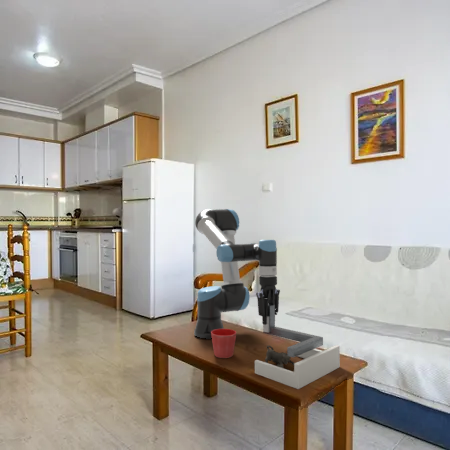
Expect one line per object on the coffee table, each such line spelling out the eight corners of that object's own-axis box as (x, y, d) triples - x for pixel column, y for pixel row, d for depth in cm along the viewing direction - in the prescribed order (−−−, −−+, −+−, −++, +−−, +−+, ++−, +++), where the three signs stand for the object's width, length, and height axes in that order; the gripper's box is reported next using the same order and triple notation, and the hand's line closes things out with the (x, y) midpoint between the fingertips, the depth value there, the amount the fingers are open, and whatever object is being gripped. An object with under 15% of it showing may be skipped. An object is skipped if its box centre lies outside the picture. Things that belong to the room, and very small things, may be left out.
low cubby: (254, 373, 136) (254, 351, 136) (297, 354, 155) (297, 335, 155) (298, 389, 122) (298, 364, 122) (339, 367, 141) (339, 345, 141)
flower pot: (239, 351, 159) (239, 329, 160) (233, 360, 149) (232, 336, 149) (215, 349, 162) (215, 327, 162) (207, 358, 152) (207, 334, 152)
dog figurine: (262, 365, 143) (262, 346, 144) (271, 361, 148) (271, 343, 148) (288, 373, 135) (288, 353, 135) (297, 369, 139) (297, 349, 140)
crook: (236, 341, 148) (236, 311, 148) (267, 331, 161) (267, 303, 161) (293, 357, 128) (292, 322, 128) (323, 344, 141) (322, 313, 142)
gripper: (262, 278, 151) (263, 336, 150) (286, 274, 162) (287, 328, 162) (248, 276, 156) (249, 333, 156) (273, 273, 167) (273, 325, 167)
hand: (268, 330), depth 159 cm, fingers closed on crook, 3 cm apart
